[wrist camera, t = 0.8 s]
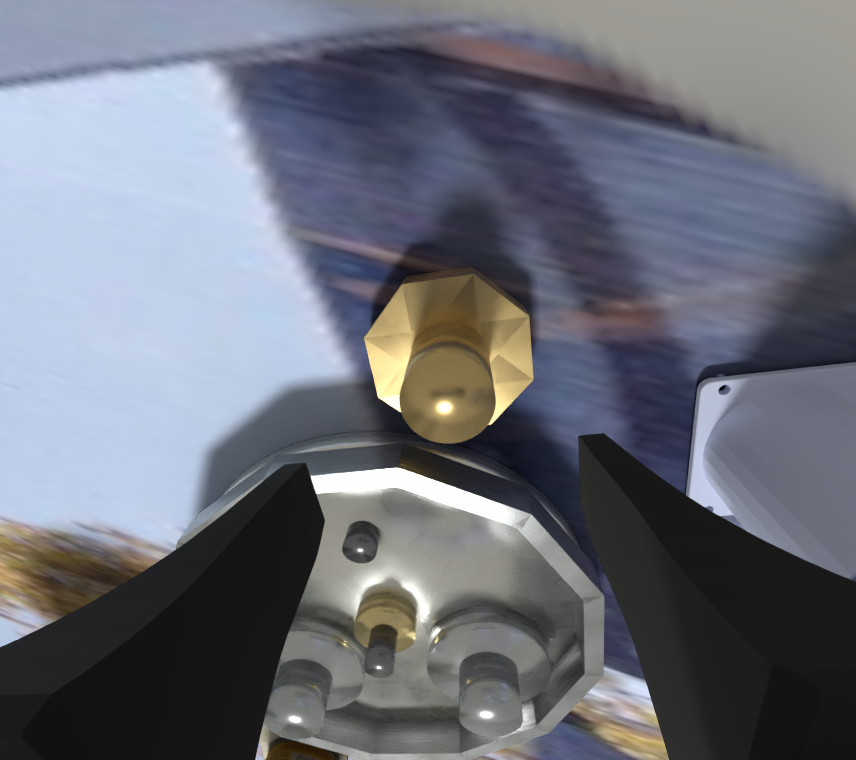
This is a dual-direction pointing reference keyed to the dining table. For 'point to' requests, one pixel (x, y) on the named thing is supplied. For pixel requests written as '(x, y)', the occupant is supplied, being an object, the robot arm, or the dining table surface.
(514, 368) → the brass octagonal knob
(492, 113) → the dining table surface
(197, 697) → the robot arm
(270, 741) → the condiment
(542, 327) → the dining table surface
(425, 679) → the tray
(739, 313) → the dining table surface
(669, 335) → the dining table surface
